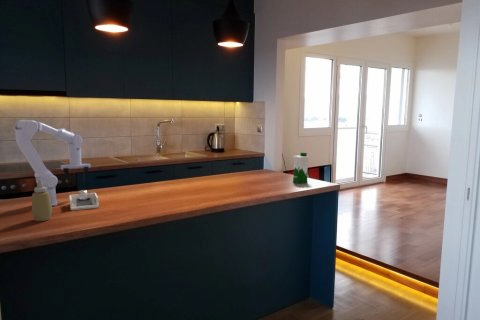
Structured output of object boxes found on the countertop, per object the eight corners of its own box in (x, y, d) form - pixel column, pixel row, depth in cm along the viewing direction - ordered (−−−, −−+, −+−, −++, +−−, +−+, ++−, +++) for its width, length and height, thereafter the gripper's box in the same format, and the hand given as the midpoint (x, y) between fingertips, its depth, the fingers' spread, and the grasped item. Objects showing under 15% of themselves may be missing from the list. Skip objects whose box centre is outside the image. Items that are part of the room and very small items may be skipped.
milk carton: (309, 183, 245) (310, 153, 242) (298, 184, 241) (298, 154, 238) (301, 180, 252) (302, 152, 250) (290, 181, 249) (291, 152, 246)
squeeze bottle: (56, 217, 165) (53, 177, 162) (47, 222, 157) (44, 181, 154) (38, 217, 164) (35, 177, 162) (28, 222, 156) (25, 181, 154)
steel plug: (80, 205, 181) (79, 192, 180) (79, 204, 184) (79, 190, 183) (88, 205, 182) (87, 191, 181) (87, 203, 185) (86, 189, 184)
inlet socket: (76, 207, 178) (76, 202, 178) (76, 203, 185) (75, 198, 184) (92, 205, 181) (91, 200, 181) (90, 202, 188) (90, 197, 187)
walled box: (70, 210, 175) (70, 200, 174) (69, 204, 186) (69, 195, 185) (98, 207, 180) (98, 197, 180) (96, 201, 191) (95, 192, 191)
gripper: (60, 158, 189) (62, 183, 190) (90, 156, 195) (91, 181, 197) (60, 156, 195) (61, 181, 197) (89, 155, 201) (90, 179, 203)
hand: (76, 181), depth 197 cm, fingers open, 7 cm apart
